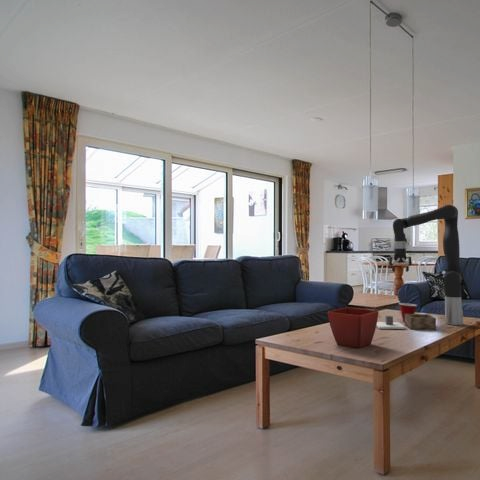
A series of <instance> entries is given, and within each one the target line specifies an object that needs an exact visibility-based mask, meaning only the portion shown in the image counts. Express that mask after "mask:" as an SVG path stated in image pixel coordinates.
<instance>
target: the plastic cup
mask: <svg viewBox="0 0 480 480" xmlns="http://www.w3.org/2000/svg"><path fill="white" fill-rule="evenodd" d="M398 304H399V308H400V312H401V318H402V322H403V323H405V314H416V313H415V311H416V308H417V306H418V305H417V304H415V303H414V304H413V303H407V302H398Z"/></svg>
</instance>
